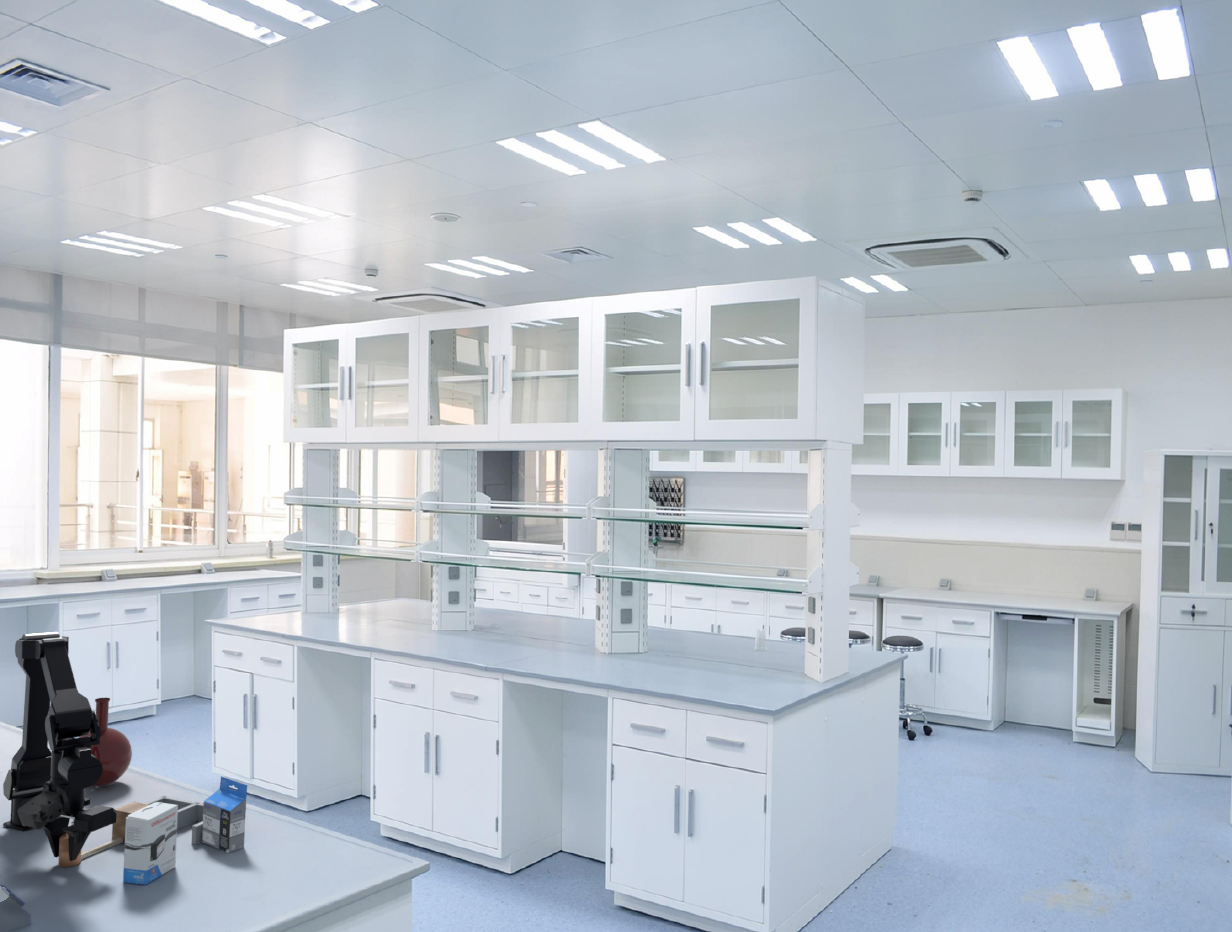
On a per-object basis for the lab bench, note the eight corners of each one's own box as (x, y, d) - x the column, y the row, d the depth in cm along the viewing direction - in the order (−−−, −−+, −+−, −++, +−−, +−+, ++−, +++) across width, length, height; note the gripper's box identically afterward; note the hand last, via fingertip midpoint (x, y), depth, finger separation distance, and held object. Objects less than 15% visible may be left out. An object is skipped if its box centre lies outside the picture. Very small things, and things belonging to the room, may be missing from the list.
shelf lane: (122, 828, 192) (123, 811, 192) (163, 812, 202) (164, 795, 202) (195, 844, 186) (196, 826, 186) (233, 826, 195) (234, 809, 195)
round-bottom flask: (111, 796, 210) (115, 707, 210) (53, 794, 210) (57, 704, 211) (141, 777, 223) (145, 693, 224) (87, 775, 224) (90, 691, 224)
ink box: (145, 885, 167) (148, 819, 167) (121, 882, 168) (124, 816, 168) (177, 866, 175) (179, 803, 175) (153, 863, 176) (156, 800, 176)
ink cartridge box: (200, 842, 186) (203, 780, 187) (218, 836, 190) (220, 775, 190) (228, 853, 182) (230, 790, 182) (245, 847, 185) (248, 784, 185)
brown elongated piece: (51, 863, 174) (52, 831, 174) (132, 830, 191) (134, 801, 191) (70, 868, 172) (72, 836, 172) (151, 835, 189) (152, 805, 189)
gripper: (-10, 779, 170) (-13, 866, 170) (66, 795, 163) (63, 884, 163) (46, 762, 180) (43, 843, 180) (120, 776, 174) (117, 860, 174)
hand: (65, 858), depth 174 cm, fingers closed on brown elongated piece, 3 cm apart
